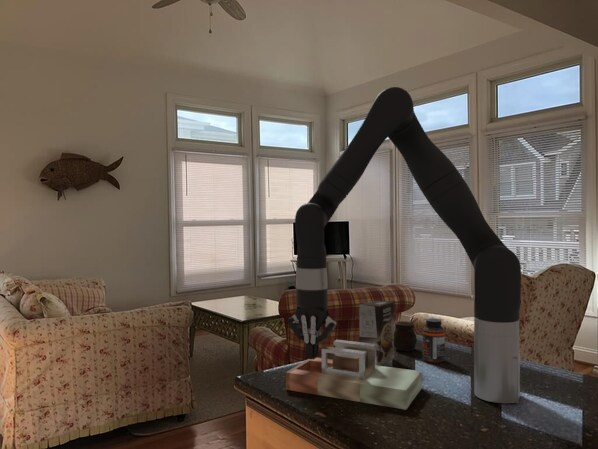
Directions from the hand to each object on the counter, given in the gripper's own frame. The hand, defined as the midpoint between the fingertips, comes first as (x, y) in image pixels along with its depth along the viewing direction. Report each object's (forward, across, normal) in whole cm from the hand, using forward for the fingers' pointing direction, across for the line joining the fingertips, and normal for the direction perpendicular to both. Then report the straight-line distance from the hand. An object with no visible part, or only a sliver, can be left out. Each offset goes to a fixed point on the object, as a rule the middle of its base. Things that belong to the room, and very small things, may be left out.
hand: (311, 358), depth 119 cm
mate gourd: (+6, -13, -39) cm, 41 cm away
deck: (+6, -11, 0) cm, 12 cm away
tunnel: (+2, -10, 0) cm, 10 cm away
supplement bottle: (+6, -23, -31) cm, 39 cm away
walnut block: (+2, -10, 0) cm, 10 cm away
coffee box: (+6, -9, -24) cm, 26 cm away
